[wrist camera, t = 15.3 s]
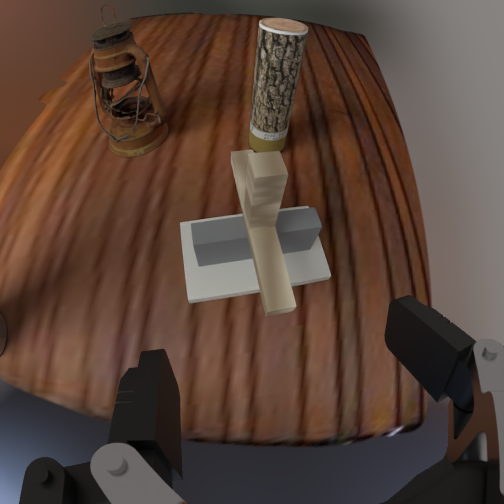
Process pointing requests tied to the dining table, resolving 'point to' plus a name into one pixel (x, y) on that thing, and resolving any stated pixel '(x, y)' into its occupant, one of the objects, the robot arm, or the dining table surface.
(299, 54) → the bark print canister
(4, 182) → the dining table surface
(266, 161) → the birch T-bar
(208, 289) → the ridge stand
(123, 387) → the robot arm
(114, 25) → the lantern
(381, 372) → the dining table surface
